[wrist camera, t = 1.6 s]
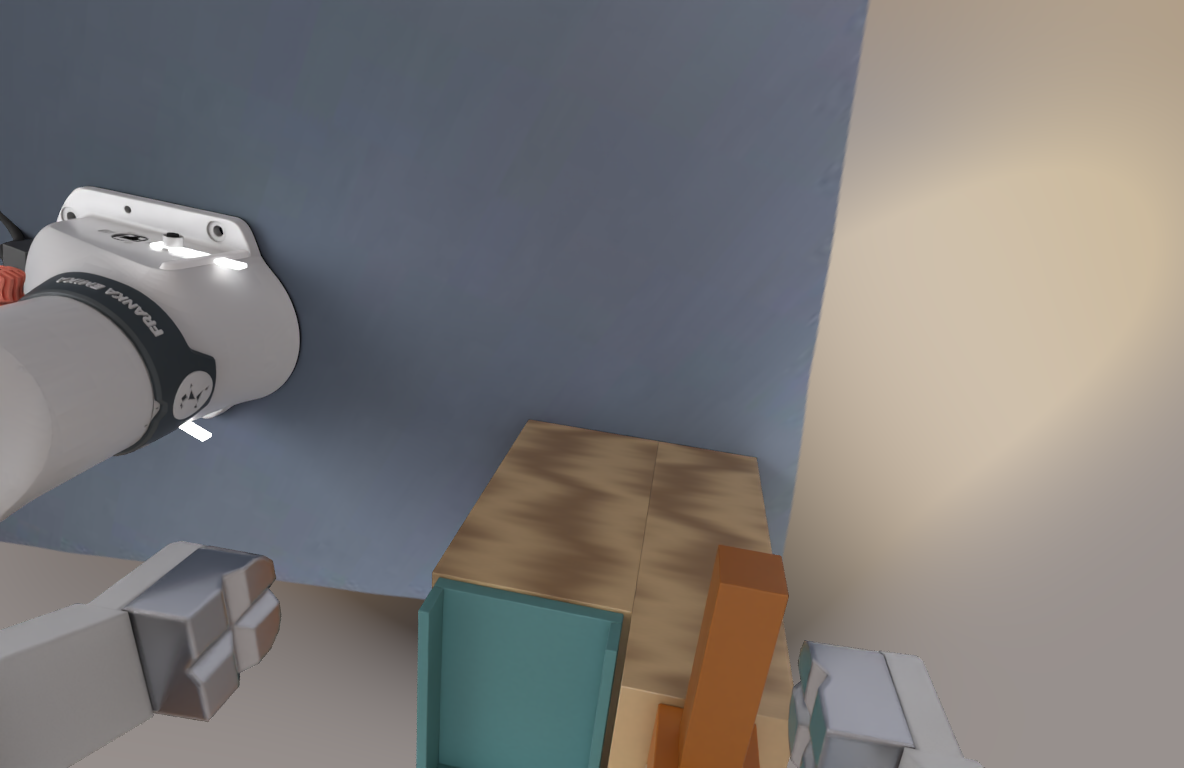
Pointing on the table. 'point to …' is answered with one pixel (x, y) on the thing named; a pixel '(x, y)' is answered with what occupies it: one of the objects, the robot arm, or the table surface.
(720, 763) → the orange block with handle
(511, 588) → the riser
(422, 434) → the table surface
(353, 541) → the table surface
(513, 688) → the tray
